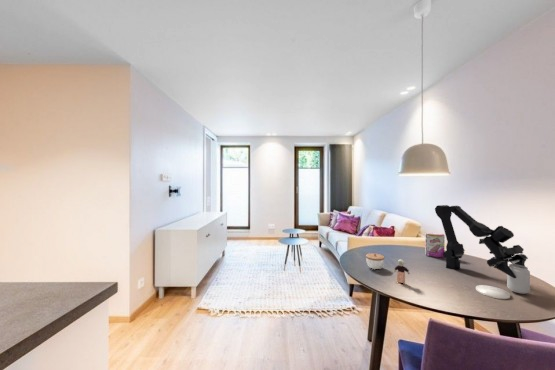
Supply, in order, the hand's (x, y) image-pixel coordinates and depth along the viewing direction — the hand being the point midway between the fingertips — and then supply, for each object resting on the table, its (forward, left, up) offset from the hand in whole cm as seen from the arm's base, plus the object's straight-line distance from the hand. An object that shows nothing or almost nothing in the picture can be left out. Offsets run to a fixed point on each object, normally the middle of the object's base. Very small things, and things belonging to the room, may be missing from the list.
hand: (521, 277), depth 107 cm
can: (-1, +1, -7) cm, 7 cm away
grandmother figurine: (-48, -19, -8) cm, 52 cm away
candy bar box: (-36, +43, -8) cm, 57 cm away
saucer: (-11, -6, -8) cm, 15 cm away
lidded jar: (-65, -5, -8) cm, 66 cm away
